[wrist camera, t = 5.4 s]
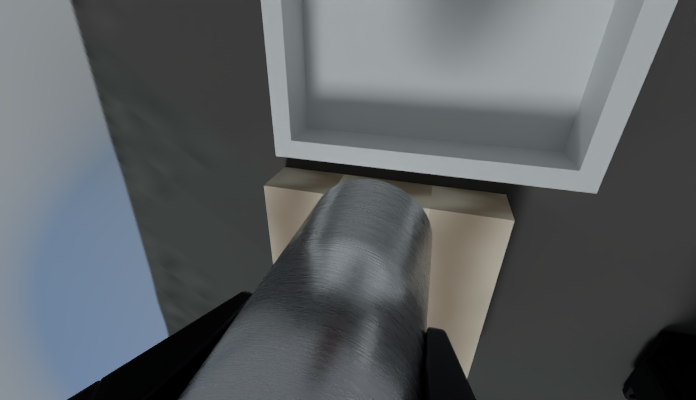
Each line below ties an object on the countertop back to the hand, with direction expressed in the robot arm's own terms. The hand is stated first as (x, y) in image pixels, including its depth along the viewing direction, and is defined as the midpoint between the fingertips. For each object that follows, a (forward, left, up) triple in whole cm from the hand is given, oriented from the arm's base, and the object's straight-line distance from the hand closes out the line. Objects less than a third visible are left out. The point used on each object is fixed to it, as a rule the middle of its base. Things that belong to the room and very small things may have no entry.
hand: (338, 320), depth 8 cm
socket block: (+1, +9, -13) cm, 16 cm away
